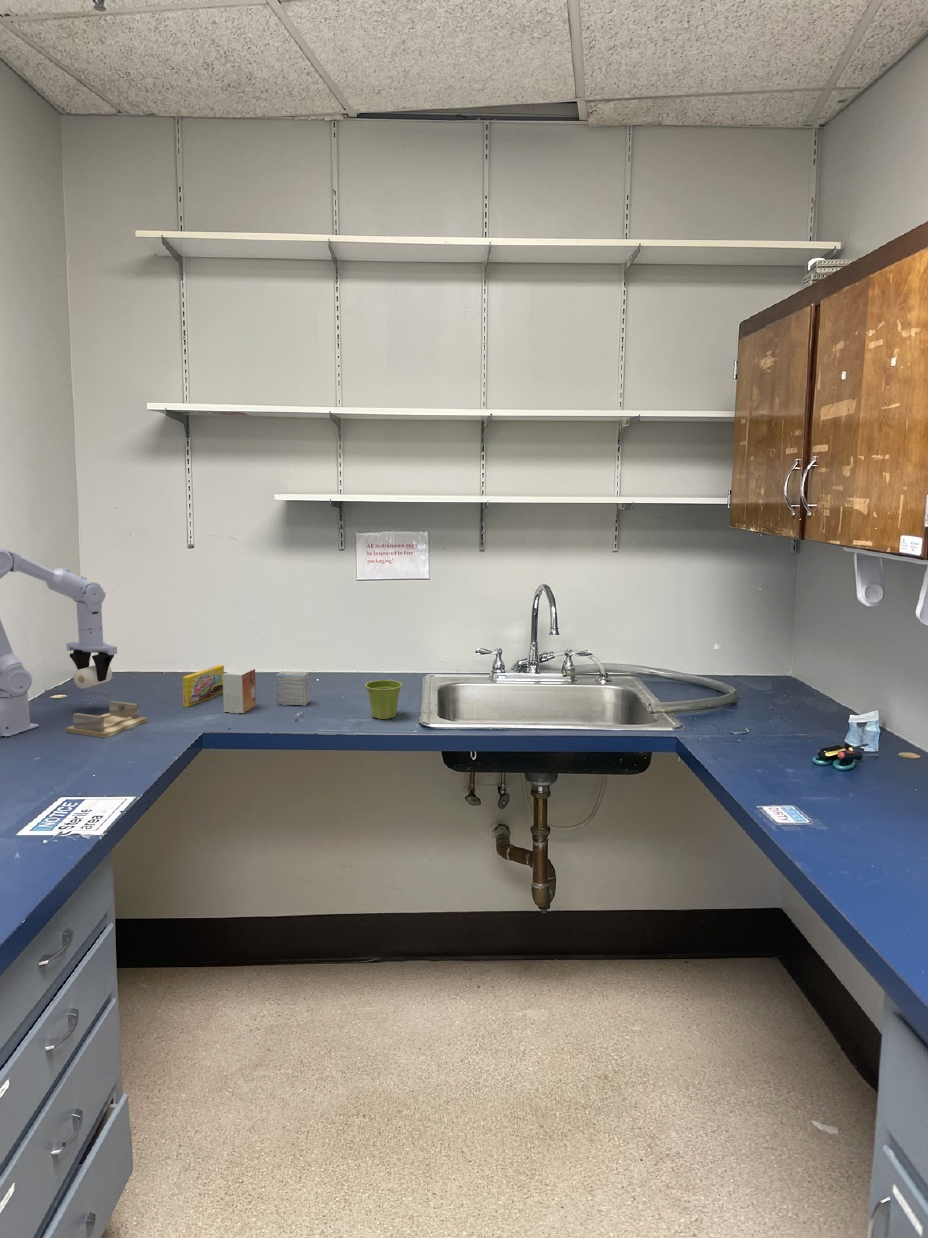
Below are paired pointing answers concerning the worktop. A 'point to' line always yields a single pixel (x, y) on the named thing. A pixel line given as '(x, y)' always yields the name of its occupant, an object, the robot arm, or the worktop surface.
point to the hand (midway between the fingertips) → (93, 679)
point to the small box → (239, 690)
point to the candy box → (202, 685)
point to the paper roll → (89, 677)
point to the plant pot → (383, 698)
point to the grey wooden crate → (292, 688)
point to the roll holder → (107, 720)
